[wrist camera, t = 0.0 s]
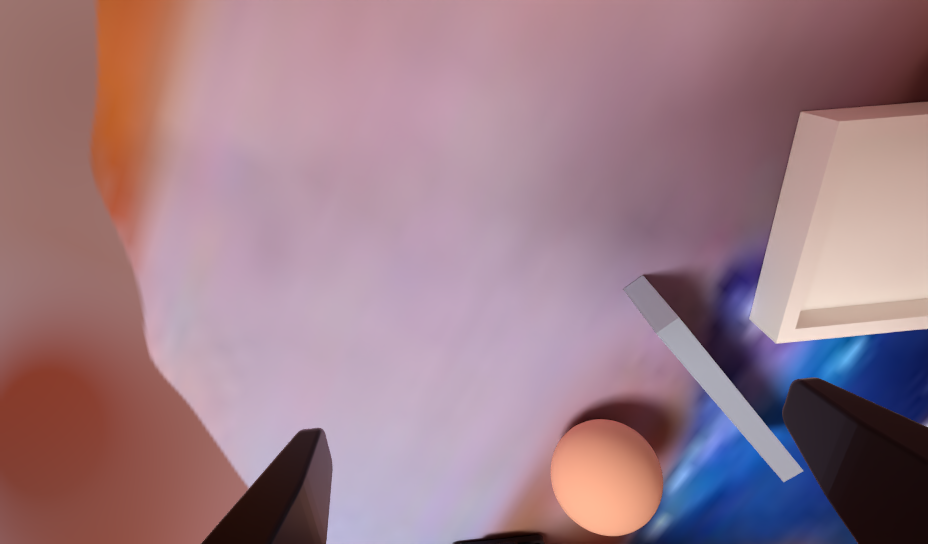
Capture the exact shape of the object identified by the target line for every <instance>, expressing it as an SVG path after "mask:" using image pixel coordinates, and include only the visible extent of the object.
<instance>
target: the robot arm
mask: <svg viewBox="0 0 928 544" xmlns="http://www.w3.org/2000/svg"><path fill="white" fill-rule="evenodd" d="M782 416H783V420H784V423H785V425H786V427H787V429H788V431H789V432H790V434H791V436H792V438H793V439H794V441H795V443H796V445H797V446H798V448H799V450H800V452H801V454H802V455H803V457H804V459H805V461H806V462H807V464H808V466H809V468H810V469H811V471H812V473H813V475H814V477H815V478H816V480H817V482H818V484H819V485H820V487H821V489H822V490H823V492H824V494H825V495H826V497H827V499H828V500H829V502H830V503H831V505H832V506H833V508H834V509H835V511H836V512H837V514H838V515H839V516H840V518H841V519H842V521H843V522H844V524H845V525H846V526H847V528H848V529H849V531H850V532H851V534H852V535H853V537H854V538H855V539H856V541H857V542H858V544H928V427H926V426H924V425H921V424H919V423H917V422H915V421H913V420H910V419H908V418H906V417H904V416H901V415H899V414H897V413H895V412H893V411H890V410H888V409H886V408H884V407H882V406H879V405H877V404H875V403H873V402H871V401H868V400H866V399H864V398H862V397H859V396H857V395H855V394H853V393H851V392H848V391H846V390H844V389H842V388H840V387H837V386H835V385H833V384H831V383H828V382H826V381H824V380H822V379H819V378H804V379H797V380H794V381H793V382H792V383H791V386H790V389H789V392H788V395H787V398H786V401H785V404H784V407H783V411H782ZM331 481H332V458H331V454H330V450H329V447H328V443H327V439H326V435H325V432H324V430H323V429H321V428H313V429H303V430H301V431H299V432H298V433H297V434H296V435H295V436H294V437H293V438H292V440H291V441H290V442H289V443H288V444H287V445H286V447H285V448H284V449H283V450H282V451H281V452H280V453H279V455H278V456H277V457H276V458H275V459H274V460H273V462H272V463H271V464H270V465H269V466H268V467H267V468H266V470H265V471H264V472H263V473H262V474H261V475H260V476H259V478H258V479H257V480H256V481H255V482H254V483H253V485H252V486H251V487H250V488H249V489H248V490H247V491H246V493H245V494H244V495H243V496H242V497H241V498H240V500H239V501H238V502H237V503H236V504H235V505H234V506H233V508H232V509H231V510H230V511H229V512H228V513H227V515H226V516H225V517H224V518H223V519H222V520H221V521H220V522H219V524H218V525H217V526H216V527H215V528H214V530H213V531H212V532H211V533H210V534H209V535H208V536H207V537H206V539H205V540H204V541H203V542H202V543H201V544H326V539H327V527H328V516H329V504H330V493H331ZM461 544H544V540H543V537H542V536H540V535H532V536H523V537H514V538H505V539H497V540H488V541H479V542H470V543H461Z"/></svg>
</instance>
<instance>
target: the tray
mask: <svg viewBox="0 0 928 544" xmlns="http://www.w3.org/2000/svg"><path fill="white" fill-rule="evenodd" d="M749 319H750V320H751V321H752V322H753V323H754V324H755V325H756V326H757V327H758V328H760V329H761V330H762V331H763V332H764V333H765V334H766V335H767V336H768V337H769V338H770V339H772V340H773V341H774V342H775V343H776V344H777V343H787V342H797V341H808V340H818V339H828V338H838V337H848V336H858V335H868V334H878V333H888V332H898V331H908V330H918V329H928V102H916V103H903V104H891V105H878V106H865V107H853V108H840V109H827V110H815V111H802V112H800V116H799V120H798V124H797V128H796V132H795V136H794V140H793V144H792V148H791V152H790V156H789V160H788V164H787V168H786V173H785V177H784V181H783V185H782V189H781V193H780V197H779V201H778V205H777V209H776V213H775V217H774V221H773V225H772V229H771V233H770V237H769V241H768V245H767V249H766V253H765V257H764V261H763V265H762V270H761V274H760V278H759V282H758V286H757V290H756V294H755V298H754V302H753V306H752V310H751V314H750V318H749Z"/></svg>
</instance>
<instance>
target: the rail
mask: <svg viewBox="0 0 928 544" xmlns="http://www.w3.org/2000/svg"><path fill="white" fill-rule="evenodd" d="M623 290H624V291H625V292H626V294H627V295H628V296H629V298H630V299H631V300H632V302H633V303H634V304H635V306H636V307H637V308H638V310H639V311H640V312H641V314H642V315H643V316H644V318H645V319H646V320H647V322H648V323H649V325H650V326H651V327H652V329H653V330H654V331H655V333H656V334H657V335H658V336H659V337H660V339H661V340H662V341H663V342H664V343H665V344H666V346H667V347H668V348H669V349H670V350H671V351H672V353H673V354H674V355H675V356H676V357H677V358H678V360H679V361H680V362H681V363H682V364H683V365H684V367H685V368H686V369H687V370H688V371H689V372H690V374H691V375H692V376H693V377H694V378H695V379H696V381H697V382H698V383H699V384H700V385H701V386H702V388H703V389H704V390H705V391H706V392H707V393H708V395H709V396H710V397H711V398H712V399H713V400H714V402H715V403H716V404H717V405H718V406H719V407H720V408H721V410H722V411H723V412H724V413H725V414H726V415H727V417H728V418H729V419H730V420H731V421H732V422H733V424H734V425H735V426H736V427H737V428H738V429H739V431H740V432H741V433H742V434H743V435H744V436H745V438H746V439H747V440H748V441H749V442H750V443H751V445H752V446H753V447H754V448H755V449H756V450H757V452H758V453H759V454H760V455H761V456H762V457H763V459H764V460H765V461H766V462H767V463H768V464H769V466H770V467H771V468H772V469H773V470H774V471H775V473H776V474H777V475H778V476H779V477H780V478H781V480H782V481H783V482H785V481H787V480H788V479H790V478H792V477H794V476H796V475H797V474H799V473H801V472H803V470H802V469H801V467H800V466H799V465H798V464H797V462H796V461H795V460H794V459H793V458H792V456H791V455H790V454H789V453H788V451H787V450H786V449H785V448H784V446H783V445H782V444H781V443H780V441H779V440H778V439H777V438H776V437H775V435H774V434H773V433H772V432H771V430H770V429H769V428H768V427H767V425H766V424H765V423H764V422H763V420H762V419H761V418H760V417H759V416H758V414H757V413H756V412H755V411H754V409H753V408H752V407H751V406H750V404H749V403H748V402H747V401H746V399H745V398H744V397H743V396H742V395H741V393H740V392H739V391H738V390H737V388H736V387H735V386H734V385H733V383H732V382H731V381H730V380H729V378H728V377H727V376H726V375H725V373H724V372H723V371H722V370H721V369H720V367H719V366H718V365H717V364H716V362H715V361H714V360H713V359H712V357H711V356H710V355H709V354H708V352H707V351H706V350H705V349H704V348H703V346H702V345H701V344H700V343H699V341H698V340H697V339H696V338H695V336H694V335H693V334H692V333H691V331H690V330H689V329H688V328H687V327H686V325H685V324H684V323H683V322H682V320H681V319H680V318H679V317H678V316H677V314H676V313H675V312H674V311H673V310H672V309H671V307H670V306H669V305H668V304H667V303H666V302H665V300H664V299H663V298H662V297H661V296H660V295H659V293H658V292H657V291H656V290H655V289H654V288H653V286H652V285H651V284H650V283H649V282H648V281H647V279H646V278H645V277H644V276H643V275H642V276H641V277H639V278H638V279H637V280H635V281H634V282H633V283H631V284H630V285H629V286H627V287H626V288H624V289H623Z"/></svg>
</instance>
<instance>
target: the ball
mask: <svg viewBox="0 0 928 544" xmlns="http://www.w3.org/2000/svg"><path fill="white" fill-rule="evenodd" d="M551 481H552V486H553V490H554V493H555V495H556V498H557V500H558V502H559V504H560V505H561V507H562V508H563V510H564V511H565V512H566V514H567V515H568V516H569V517H570V518H571V519H572V520H573V521H574V522H576V523H577V524H578V525H580V526H581V527H583V528H585V529H587V530H589V531H591V532H593V533H596V534H600V535H605V536H620V535H625V534H629V533H632V532H634V531H636V530H638V529H639V528H641V527H642V526H644V525H645V524H646V523H647V522H648V521H649V520H650V519H651V518H652V516H653V515H654V514H655V512H656V510H657V508H658V506H659V504H660V501H661V497H662V492H663V477H662V470H661V467H660V463H659V460H658V458H657V456H656V454H655V452H654V450H653V449H652V447H651V446H650V445H649V443H648V442H647V441H646V440H645V439H644V438H643V437H642V436H641V435H640V434H639V433H638V432H636V431H635V430H634V429H632V428H630V427H629V426H627V425H625V424H622V423H620V422H617V421H613V420H606V419H595V420H589V421H586V422H583V423H580V424H578V425H576V426H575V427H573V428H572V429H570V430H569V431H568V432H567V433H566V434H565V435H564V436H563V437H562V438H561V440H560V441H559V443H558V445H557V446H556V449H555V451H554V454H553V457H552V462H551Z"/></svg>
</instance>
